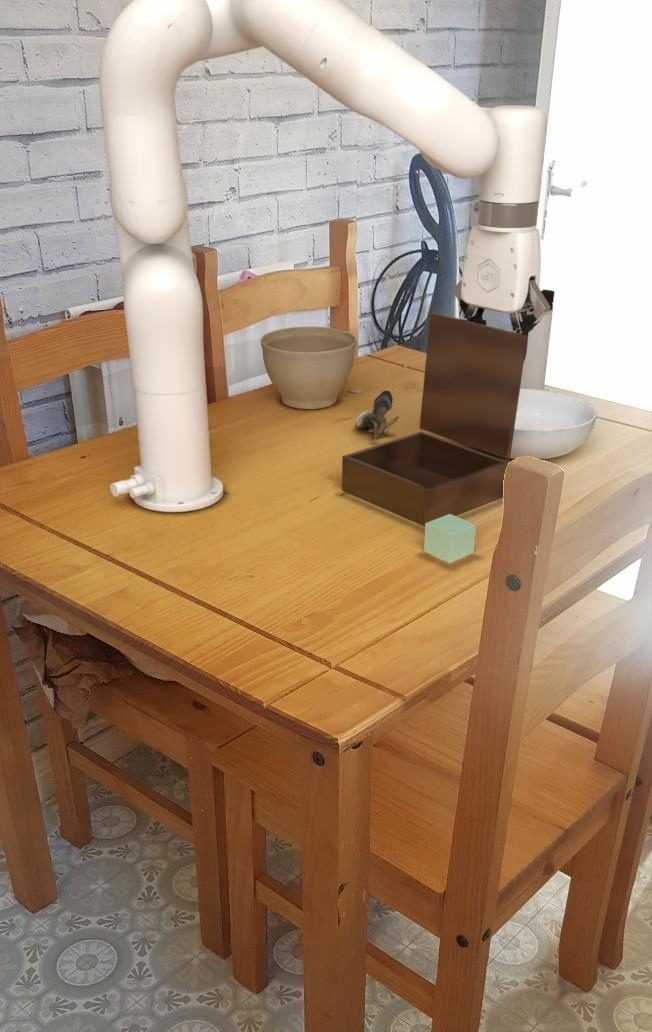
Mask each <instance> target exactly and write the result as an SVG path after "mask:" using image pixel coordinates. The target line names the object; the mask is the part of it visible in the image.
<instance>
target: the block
mask: <svg viewBox="0 0 652 1032" xmlns="http://www.w3.org/2000/svg"><path fill="white" fill-rule="evenodd" d="M476 534H477V524H476V523H474V522H471V521H469V520H466V519H463V518H461V517H460V516H454V515H452V514H448V515H445V516H443V517H440V518H438V519H435V520H433V521H430V522H427V523H425V526H424V541H423V552H424V553H427V554H429V555H431V556H433V557H435V558H438V559H440V560H442V561H444V562H446V563H449V564H451V563H454V562H456V561H459V560H460V559H463V558H465V557H467V556H468V557H469V556H470V555H472V554H474V553H475V547H476Z"/></svg>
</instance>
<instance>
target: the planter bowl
mask: <svg viewBox="0 0 652 1032" xmlns="http://www.w3.org/2000/svg"><path fill="white" fill-rule="evenodd" d="M356 346H357V337H356V336H355V334H353V333H352V332H349V331H348V330H347V331H346V330H342V329H340V328H339V329H338V328H333V327H326V326H315V325H313V326H308V325H307V326H291V327H285V328H279V329H275V330H272V331H269V332H266V333H265V334H263V335H261V337H260V347H261V349H262V360H263V364H264V368H265V371H266V373H267V376H268V378H269V380H270V382H271V384H272V385H273V387H274V389H275V390H276V391H277V392H278V393H279V394H280V398H281V402H282V403H283V404H284V405H286V406H287V407H290V408H294V409H301V410H317V409H324V408H329V407H331V406H333V405H334V404H335V403H336V402H337V401H338V395H339V393H340V392H341V391H342V390H343V388H344V387H345V385H346V383H347V382H348V379H349V377H350V375H351V372H352V368H353V365H354V362H355V361H354V360H355V351H356Z"/></svg>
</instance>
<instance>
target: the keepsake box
mask: <svg viewBox="0 0 652 1032" xmlns="http://www.w3.org/2000/svg"><path fill="white" fill-rule="evenodd" d="M341 459H342V460H341V492H344V493H347V494H349V495H350V496H353V497H356V498H357V499H360V500H362V501H365V502H366V503H369V504H371V505H374V506H376V507H378V508H381V509H383V510H385V511H388V512H390V513H392V514H395V515H397V516H399V517H402V518H404V519H406V520H408V521H411V522H413V523H415V524H418V525H420V526H423V527H425V523H427V522H430V521H433V520H435V519H438V518H440V517H443V516H445V515H448V514H452V515H454V516H456V517H458V516H459V515H462V514H464V513H467V512H470V511H472V510H475V509H478V508H480V507H482V506H485V505H488V504H491V503H493V502H495V501H498V500H500V499H504V497H503V480H504V474H505V470H506V467H507V468H508V466H507V465H508V464H509V462H508V461H506V460H503V459H501V458H499V457H495V456H492V455H490V454H486V453H484V452H481V451H478V450H475V449H473V448H469V447H467V446H464V445H461V444H458V443H455V442H452V441H449V440H446V439H444V438H441V437H438V436H435V435H432V434H429V433H427V432H424V431H418V432H414V433H411V434H409V435H405V436H402V437H399V438H396V439H392V440H389V441H386V442H383V443H379V444H376V445H374V446H373V445H372V446H370V447H367V448H364V449H361V450H357V451H354V452H351V453H348V454H345V455H342V456H341Z"/></svg>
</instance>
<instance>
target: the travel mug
mask: <svg viewBox="0 0 652 1032" xmlns="http://www.w3.org/2000/svg"><path fill="white" fill-rule="evenodd" d="M540 291H541V292H542V294H543V295H544V297H545V299H546V300H547V302H548V303H549V305H550V311H549V312H548V313H547V314H546V315H545V316H544V317H543V318H542V319H541V321H540V322H539V323H538V324H537V325H536V326H535V327H534V328H533V330H532V331H531V332H529V333H528V343H527V353H526V358H525V360H524V364H523V371H522V378H521V385H520V389H536V390H544V391H545V382H546V375H547V374H546V373H547V365H548V364H547V363H548V356H549V348H550V339H551V330H552V321H553V311H554V300H555V291H554V290H551V289H544V288H543V289H541V290H540ZM533 310H534V308H532V309H530V314H531V313H532V311H533ZM519 315H520V319H521V322H522V318H521V314H519ZM511 332H513V328H512V327H511Z"/></svg>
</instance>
